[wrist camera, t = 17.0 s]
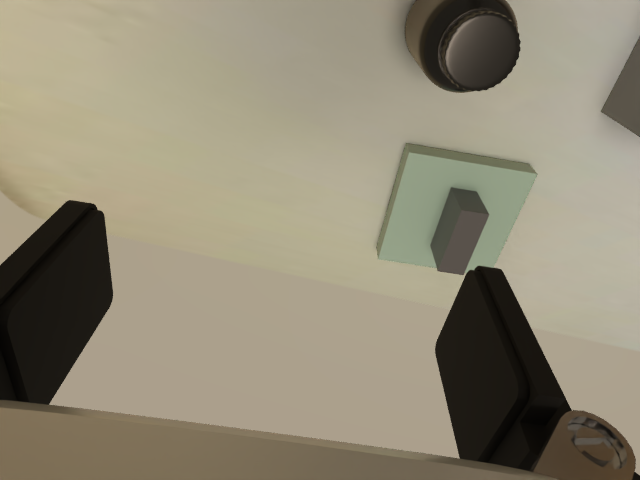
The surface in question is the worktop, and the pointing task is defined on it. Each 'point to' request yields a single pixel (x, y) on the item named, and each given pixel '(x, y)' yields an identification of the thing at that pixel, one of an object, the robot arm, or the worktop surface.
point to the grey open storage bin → (627, 95)
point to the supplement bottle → (463, 42)
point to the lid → (452, 209)
